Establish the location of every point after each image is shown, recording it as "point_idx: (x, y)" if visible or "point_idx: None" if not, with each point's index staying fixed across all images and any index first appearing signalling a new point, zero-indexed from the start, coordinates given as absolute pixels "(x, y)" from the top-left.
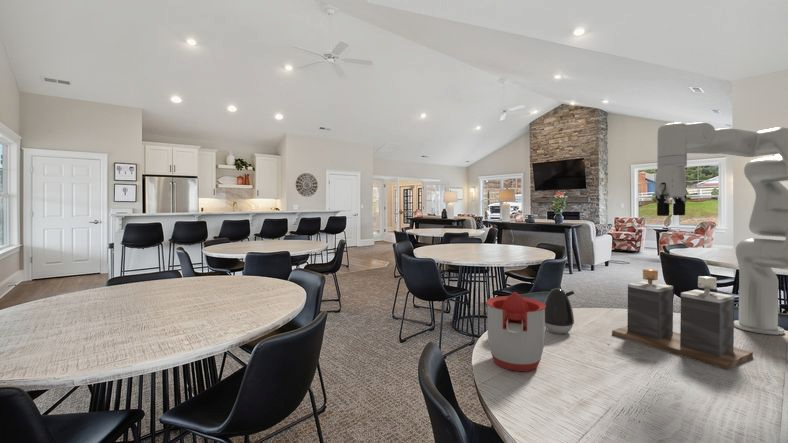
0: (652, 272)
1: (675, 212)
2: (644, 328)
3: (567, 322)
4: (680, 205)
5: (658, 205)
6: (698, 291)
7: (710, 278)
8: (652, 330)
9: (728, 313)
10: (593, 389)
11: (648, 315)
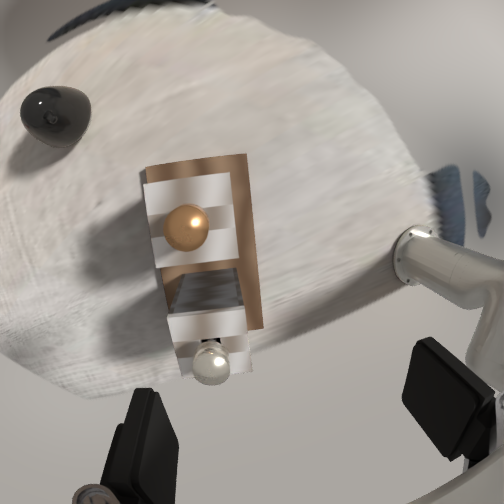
0: (172, 245)
1: (423, 367)
2: None
3: (56, 147)
4: (447, 433)
5: (119, 468)
6: (224, 324)
7: (203, 380)
8: None
9: None
10: (3, 298)
11: None
